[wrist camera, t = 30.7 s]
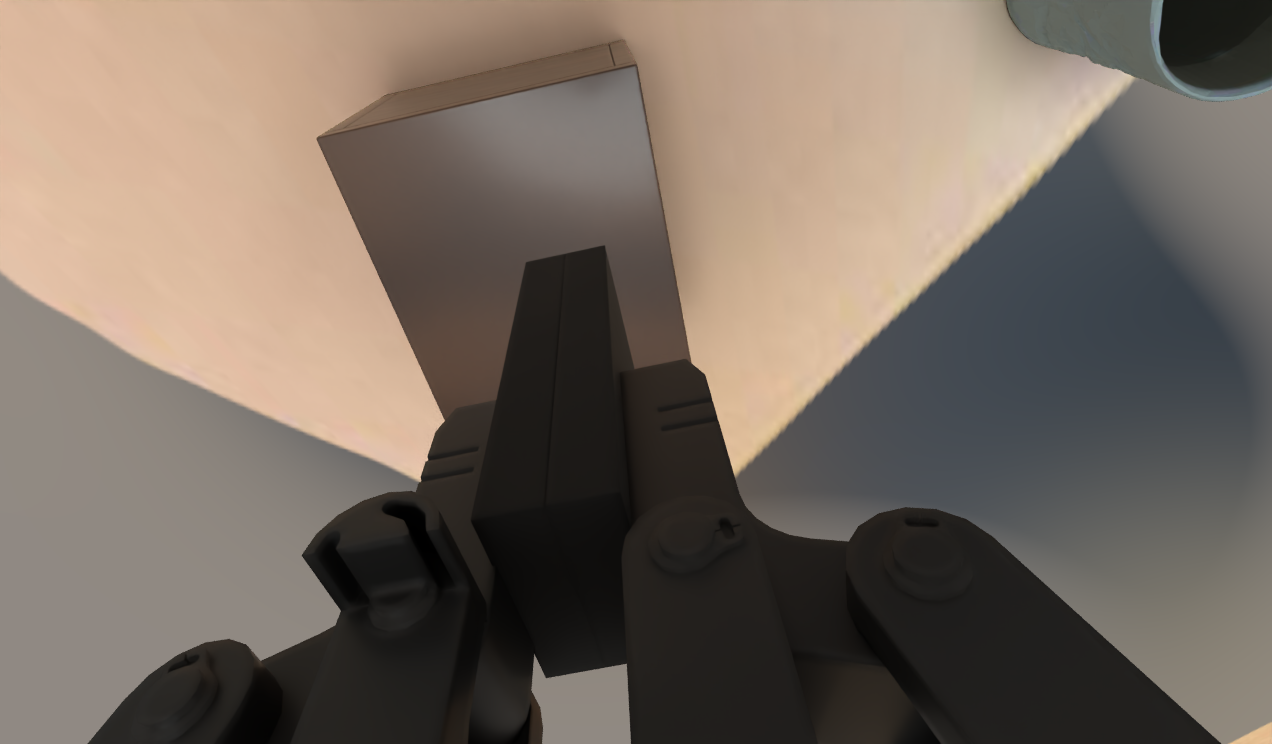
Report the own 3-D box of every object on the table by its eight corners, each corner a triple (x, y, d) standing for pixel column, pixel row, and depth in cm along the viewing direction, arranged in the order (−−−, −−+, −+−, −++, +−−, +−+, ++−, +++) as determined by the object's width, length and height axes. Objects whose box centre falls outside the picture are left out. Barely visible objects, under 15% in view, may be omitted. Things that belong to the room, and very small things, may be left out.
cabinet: (672, 294, 44) (694, 379, 34) (477, 335, 44) (448, 429, 35) (624, 39, 35) (636, 63, 26) (384, 95, 36) (315, 137, 27)
